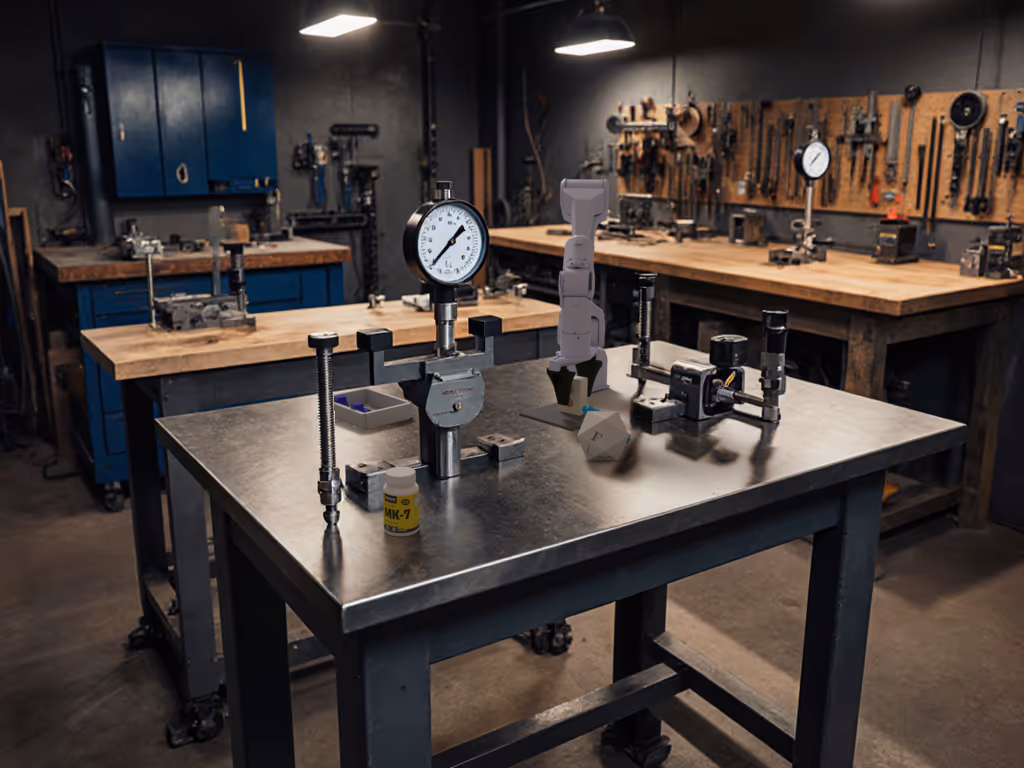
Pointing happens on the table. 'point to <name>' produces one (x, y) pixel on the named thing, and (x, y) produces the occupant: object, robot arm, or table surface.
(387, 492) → the supplement bottle
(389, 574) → the table surface
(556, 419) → the mat
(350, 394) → the parts tray
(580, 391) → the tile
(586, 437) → the die
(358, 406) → the blue stepped block
